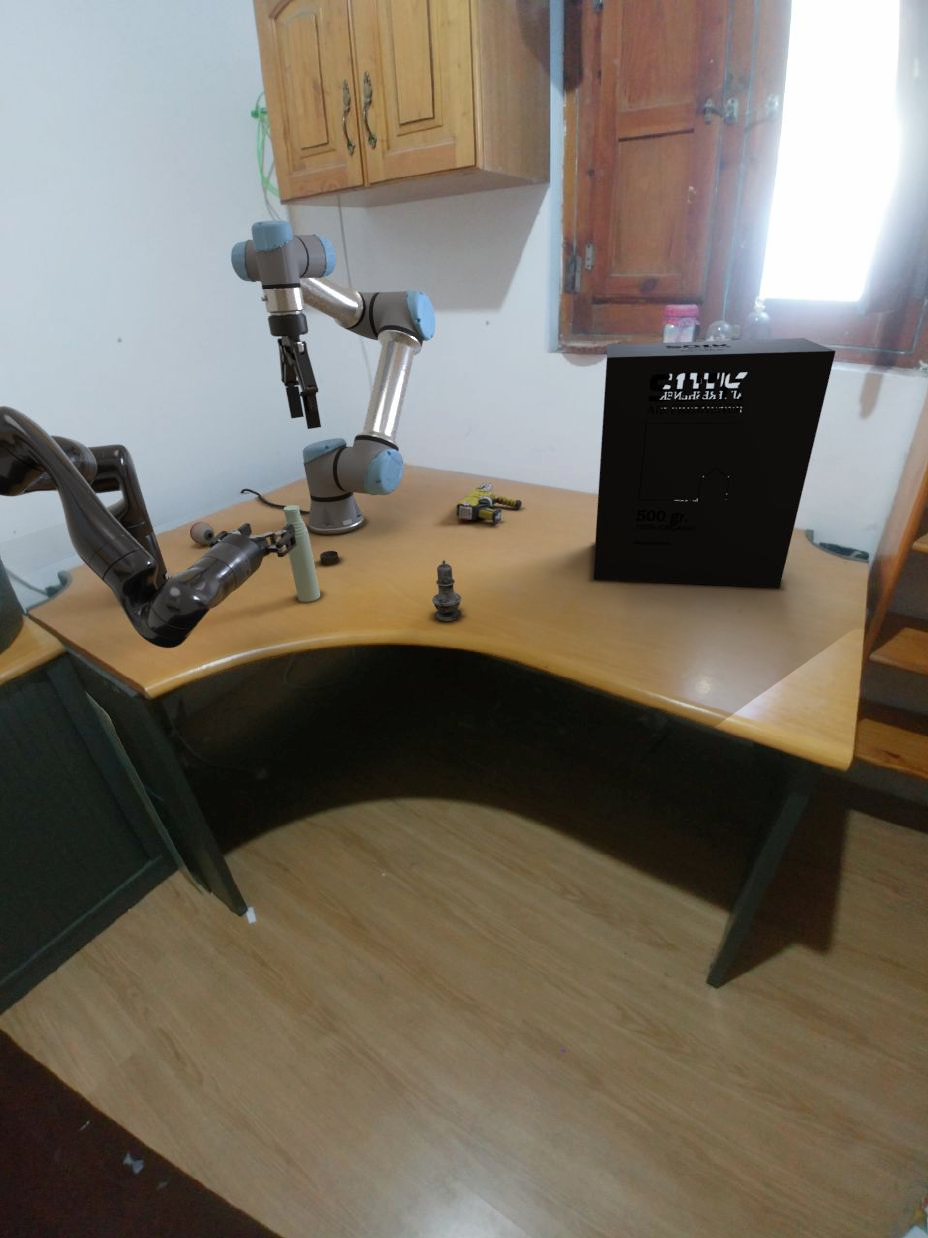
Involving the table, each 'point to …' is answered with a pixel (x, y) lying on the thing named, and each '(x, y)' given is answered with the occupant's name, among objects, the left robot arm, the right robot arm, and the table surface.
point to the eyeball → (202, 533)
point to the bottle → (302, 557)
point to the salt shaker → (446, 595)
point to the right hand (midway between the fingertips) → (305, 422)
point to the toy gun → (483, 505)
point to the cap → (329, 558)
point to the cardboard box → (706, 459)
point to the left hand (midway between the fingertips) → (270, 528)
